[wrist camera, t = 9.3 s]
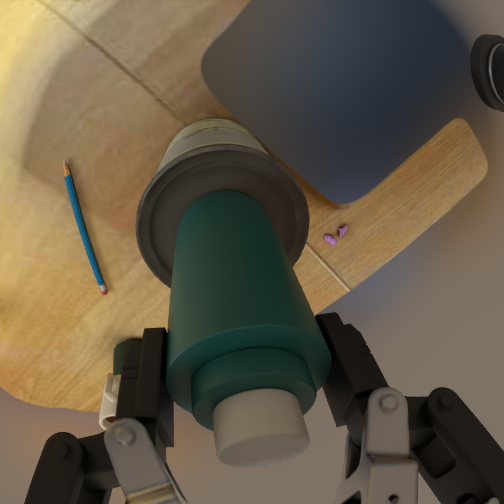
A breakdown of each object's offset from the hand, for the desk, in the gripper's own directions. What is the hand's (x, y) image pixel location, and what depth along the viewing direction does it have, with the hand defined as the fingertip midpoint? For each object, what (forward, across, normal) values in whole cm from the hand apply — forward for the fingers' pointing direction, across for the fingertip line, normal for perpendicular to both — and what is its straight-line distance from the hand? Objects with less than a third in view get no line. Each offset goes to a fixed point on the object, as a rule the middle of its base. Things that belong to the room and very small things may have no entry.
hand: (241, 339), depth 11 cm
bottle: (+8, 0, 0) cm, 8 cm away
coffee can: (+22, 0, 0) cm, 22 cm away
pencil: (+22, +15, +6) cm, 28 cm away
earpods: (+23, -14, +8) cm, 28 cm away
